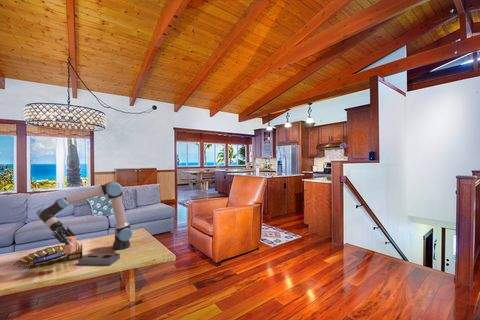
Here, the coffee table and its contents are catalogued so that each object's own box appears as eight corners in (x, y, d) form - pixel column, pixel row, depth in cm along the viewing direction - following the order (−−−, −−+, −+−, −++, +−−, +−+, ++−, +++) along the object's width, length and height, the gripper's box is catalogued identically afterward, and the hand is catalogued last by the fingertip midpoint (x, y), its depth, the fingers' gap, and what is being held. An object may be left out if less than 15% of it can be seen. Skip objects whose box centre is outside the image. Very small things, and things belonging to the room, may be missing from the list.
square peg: (69, 250, 171) (70, 236, 171) (76, 250, 170) (76, 236, 171) (64, 253, 166) (64, 238, 166) (71, 253, 166) (71, 238, 166)
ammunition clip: (82, 257, 189) (82, 243, 189) (82, 257, 187) (82, 243, 187) (66, 260, 182) (66, 246, 182) (66, 261, 180) (66, 246, 181)
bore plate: (89, 258, 187) (89, 253, 187) (119, 258, 186) (119, 253, 186) (78, 265, 174) (78, 259, 174) (110, 265, 173) (110, 260, 173)
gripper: (60, 224, 178) (80, 245, 177) (39, 231, 160) (61, 254, 159) (67, 217, 178) (87, 238, 177) (47, 223, 160) (69, 246, 159)
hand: (75, 245), depth 168 cm, fingers closed on square peg, 5 cm apart
